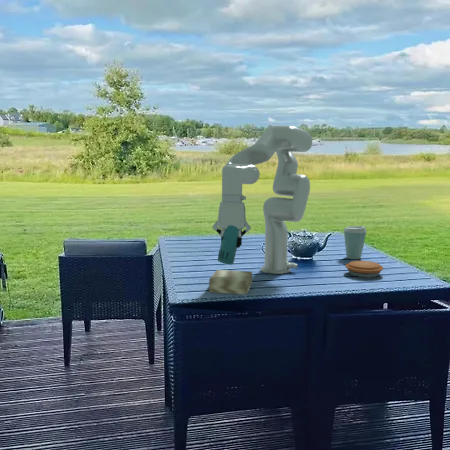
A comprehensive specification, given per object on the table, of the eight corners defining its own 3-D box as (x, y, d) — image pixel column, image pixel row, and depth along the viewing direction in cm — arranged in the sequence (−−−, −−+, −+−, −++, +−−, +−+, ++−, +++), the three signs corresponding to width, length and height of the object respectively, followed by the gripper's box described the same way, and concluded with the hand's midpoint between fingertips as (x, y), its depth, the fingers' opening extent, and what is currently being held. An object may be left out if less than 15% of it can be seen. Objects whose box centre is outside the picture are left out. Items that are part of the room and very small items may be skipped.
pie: (387, 273, 236) (387, 261, 236) (376, 281, 223) (377, 269, 222) (351, 268, 244) (352, 257, 243) (339, 276, 231) (340, 264, 230)
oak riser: (251, 284, 218) (252, 271, 217) (246, 294, 204) (246, 281, 203) (216, 282, 220) (216, 269, 219) (209, 292, 207) (209, 279, 206)
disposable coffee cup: (341, 259, 260) (343, 227, 258) (342, 254, 271) (344, 224, 268) (365, 260, 258) (366, 229, 255) (365, 255, 268) (366, 225, 266)
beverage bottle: (231, 265, 214) (243, 215, 211) (233, 269, 207) (245, 217, 205) (215, 262, 213) (226, 211, 211) (216, 266, 206) (228, 213, 204)
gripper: (256, 198, 208) (255, 246, 211) (211, 197, 211) (211, 244, 214) (253, 200, 201) (252, 250, 204) (207, 199, 204) (207, 247, 207)
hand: (231, 246), depth 209 cm, fingers closed on beverage bottle, 4 cm apart
